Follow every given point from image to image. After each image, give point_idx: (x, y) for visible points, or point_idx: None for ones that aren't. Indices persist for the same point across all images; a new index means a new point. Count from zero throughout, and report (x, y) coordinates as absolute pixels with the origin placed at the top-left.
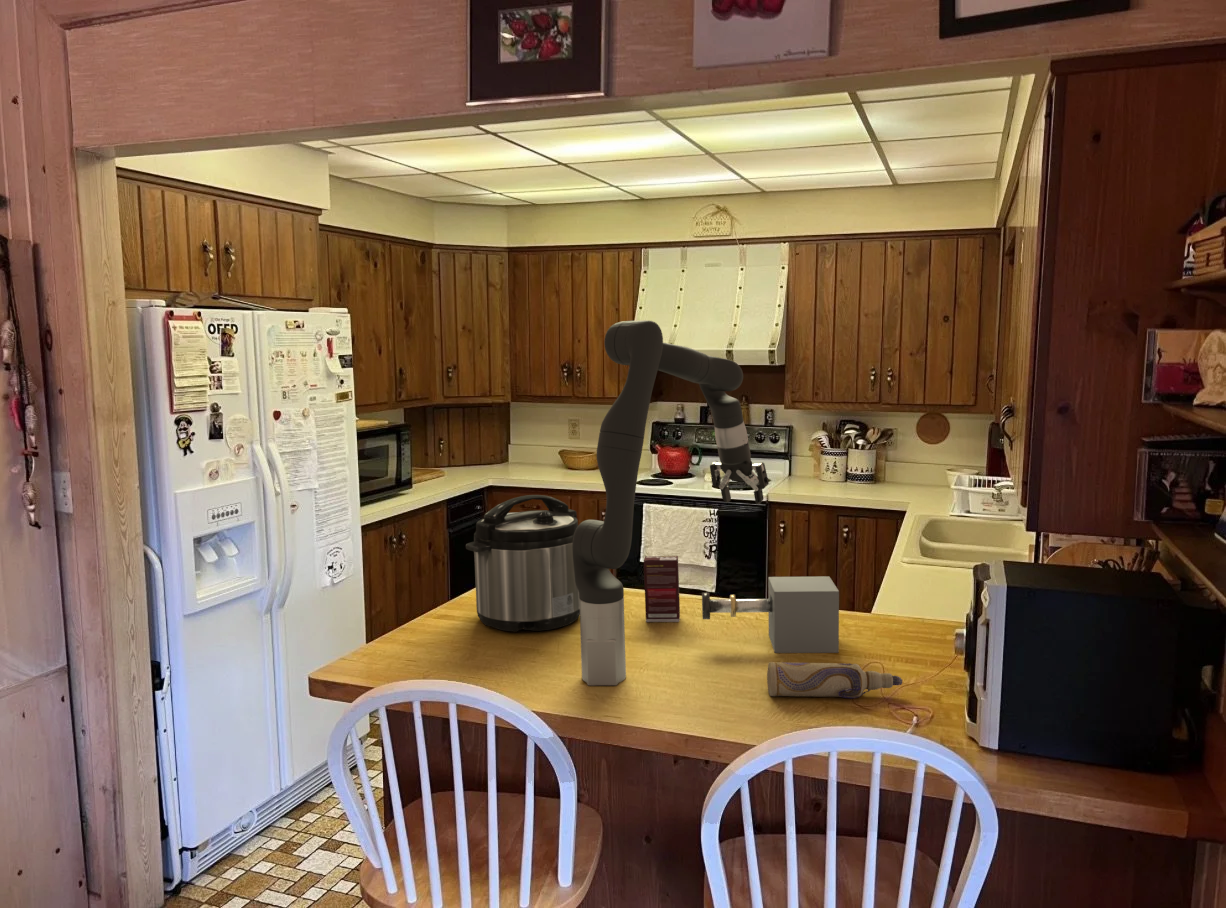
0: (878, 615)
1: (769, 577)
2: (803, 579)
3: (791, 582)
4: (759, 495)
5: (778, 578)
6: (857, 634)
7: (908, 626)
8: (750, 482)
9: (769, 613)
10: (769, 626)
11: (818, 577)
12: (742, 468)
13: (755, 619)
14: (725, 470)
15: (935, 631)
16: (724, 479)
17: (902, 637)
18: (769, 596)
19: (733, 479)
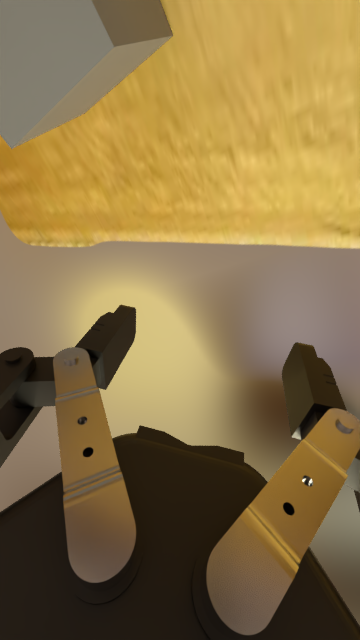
0: (85, 238)
1: (107, 39)
2: (24, 76)
3: (17, 2)
4: (90, 333)
5: (79, 43)
6: (54, 139)
7: (35, 207)
8: (65, 397)
9: (141, 7)
10: (154, 10)
11: (17, 124)
12: (52, 580)
13: (232, 146)
14: (305, 611)
15: (4, 199)
16: (315, 482)
17: (8, 155)
18: (119, 3)
19: (223, 462)
